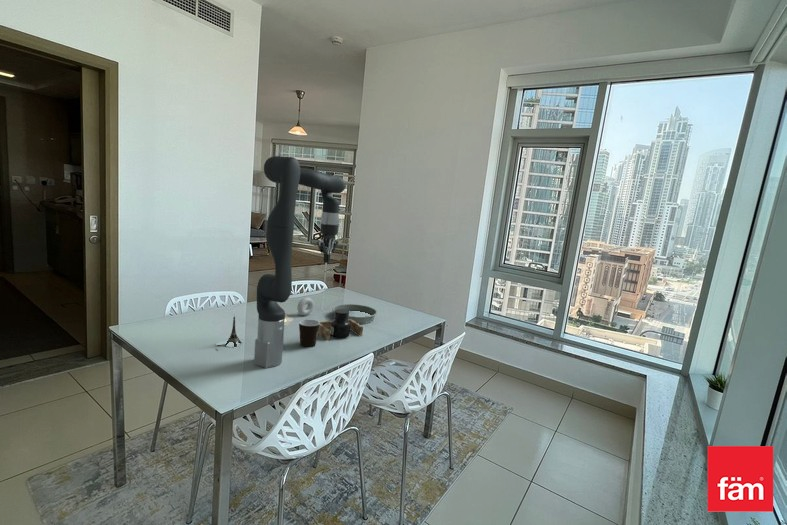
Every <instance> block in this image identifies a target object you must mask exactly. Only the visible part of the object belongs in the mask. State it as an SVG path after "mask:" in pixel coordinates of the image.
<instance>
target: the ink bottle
mask: <svg viewBox="0 0 787 525" xmlns="http://www.w3.org/2000/svg"><path fill="white" fill-rule="evenodd" d="M349 316H350V312H349V311H348V310H345V309H336V310H334V312H333V320H331V321H332V322H331V330H330V337H331V338H333V339H340V340H342V339H343V340H344V339H347V338H349V337H350V331H351V330H350V322H349V321H348V318H349Z"/></svg>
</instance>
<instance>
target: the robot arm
mask: <svg viewBox="0 0 787 525" xmlns="http://www.w3.org/2000/svg"><path fill="white" fill-rule="evenodd" d="M300 165H301V164H300V162H299V161H298V159H297V158H296V157H292V156H281V155H276V156H270V157H269V158H267V159H266V161H265V162H264V165H263V173H264V175H265V177H266V178H267V179H268V180H269V181H270V182H272V183H275V184H281V185H280V193H279V198H278V200H277V201H276V203H275V205H274V207H273V208H272V210H271V212H270V213H269V215H268V217H267V220H266V230H265V239H266V244H267V246H268V249H269V251H270V254H271V256H272V258H273V261H274V262H273V263H274V269H275V270H274V271H275V272H274V274H272V273H265V274H263V275H262V276H261V277H260V278H259V280H258V283H257V286H256V312H257V315H258V316H257V318H258V320H257V322H258V324H257V338H255V340H254V355H253V356H254V357H253V364H254V365H257V366H259V367H262V368H265V369H267V368H271V367H277V366H280V365H281V364H282V362H283V352H284V349H283V347H284V334H285V318H286V317H285V316H286V311H285V310H284V309H283V308H282V307H281V306H280V305H279V303H280V304H281V303H285V302H287V301H288V299H289V298H290V295H291V293H292V292H291V291H292V284H293V283H292V281H293V280H292V279H293V278H292V276H293V275H292V257H293V256H292V254H293V240H294V229H295V228H294V226H295V212H296V202H297V197H298V191H299V186H303V187H304V186H305V187H307V188H310V189H314V190H320V193H321V200H322V210H321V211H322V212H321V217H320V230H319V233H320V234H321V237H320V241H317V242H316V244H317V247H318V249H319V252H320V253H321V254H323V263H324V264H329V263H331V255H332V254H333V253H334V252H335V250H336V249H337V247H338V245H339V241H338V240H336V236H337V235H338V233H339V220H340V216H339V214H340V201H339V200H338V199H336V198H334V197H333V194H341V193H343V192H344V190H345V189H346V181H345V180H344V178H343V177H341V176H339V175H334V174H328V173H326V172H322V171H318V170H316V169H311V168H307V167H305V168H304V167H301V166H300Z"/></svg>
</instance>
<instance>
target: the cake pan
mask: <svg viewBox="0 0 787 525" xmlns="http://www.w3.org/2000/svg"><path fill="white" fill-rule="evenodd" d="M336 309H345V310H348V311H360V312H365V313H368V314H370V315H371V316H365V317H355V316H350V315H349V318H348V319H352V320H353V321H355V322H356V323H365V324H367V323H366V322H370V321H372V320H373V321H374V320H375V316H376V315H378V310H376V309H375V308H373V307H371V306H368V305H363V304H357V303H356V304H354V303H343V304H338V305H335V306H333V307H332V312H333V313H334V310H336ZM373 321H372V322H373ZM370 323H371V322H370Z"/></svg>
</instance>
